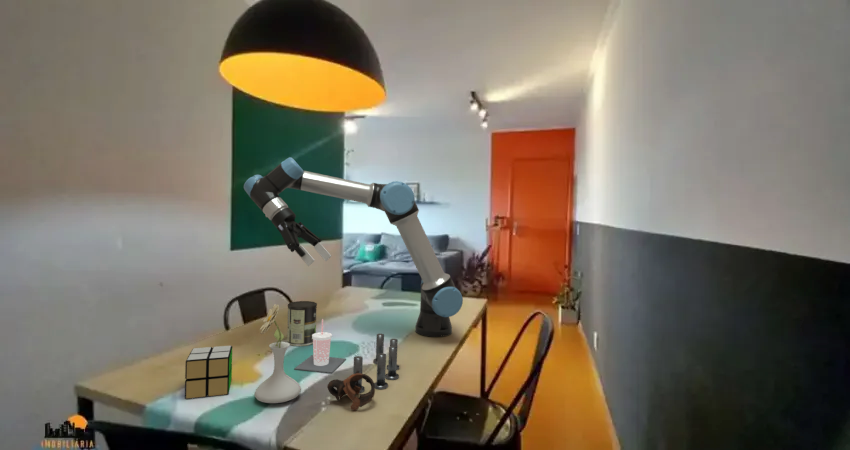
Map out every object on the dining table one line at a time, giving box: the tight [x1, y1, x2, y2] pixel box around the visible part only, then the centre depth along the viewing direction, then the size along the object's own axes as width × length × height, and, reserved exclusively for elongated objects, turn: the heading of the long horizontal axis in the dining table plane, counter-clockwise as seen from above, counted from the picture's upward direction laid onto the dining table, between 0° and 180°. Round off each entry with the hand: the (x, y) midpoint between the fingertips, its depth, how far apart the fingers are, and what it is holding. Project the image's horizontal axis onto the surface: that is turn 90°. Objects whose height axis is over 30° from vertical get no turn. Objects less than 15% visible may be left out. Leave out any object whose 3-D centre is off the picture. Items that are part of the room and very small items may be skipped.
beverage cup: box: [312, 318, 333, 366], centre depth 131 cm, size 6×6×14 cm
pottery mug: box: [327, 373, 376, 412], centre depth 105 cm, size 12×10×8 cm
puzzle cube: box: [184, 345, 233, 400], centre depth 110 cm, size 10×10×10 cm
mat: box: [294, 354, 347, 375], centre depth 131 cm, size 12×12×1 cm
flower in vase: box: [253, 304, 302, 404], centre depth 106 cm, size 13×11×25 cm
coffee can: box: [286, 300, 318, 347], centre depth 152 cm, size 10×10×14 cm
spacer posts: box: [352, 333, 400, 394], centre depth 123 cm, size 26×11×9 cm, turn 170°
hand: (320, 260), depth 138 cm, fingers open, 13 cm apart
